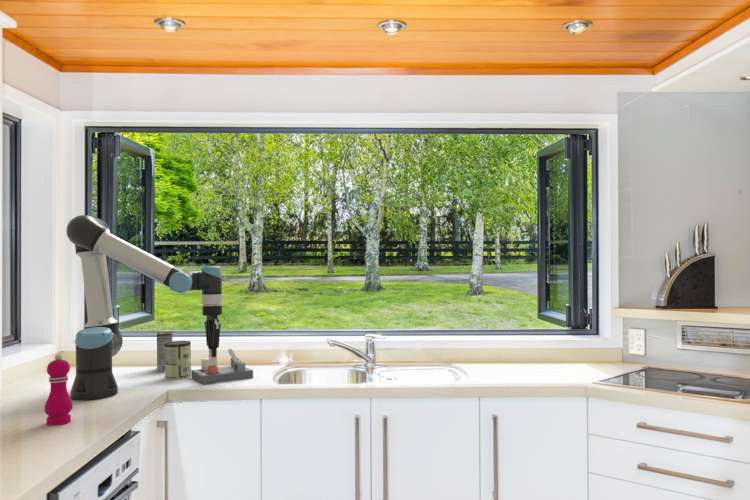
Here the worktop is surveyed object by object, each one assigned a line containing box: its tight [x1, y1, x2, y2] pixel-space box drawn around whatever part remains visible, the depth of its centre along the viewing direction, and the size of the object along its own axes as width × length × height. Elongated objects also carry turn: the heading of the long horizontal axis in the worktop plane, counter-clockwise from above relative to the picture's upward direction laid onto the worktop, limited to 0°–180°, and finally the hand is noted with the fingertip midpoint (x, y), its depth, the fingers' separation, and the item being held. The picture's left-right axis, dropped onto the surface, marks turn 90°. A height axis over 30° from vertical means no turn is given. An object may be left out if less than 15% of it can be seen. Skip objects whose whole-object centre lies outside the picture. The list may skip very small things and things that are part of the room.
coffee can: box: [164, 340, 192, 380], centre depth 236 cm, size 10×10×14 cm
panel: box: [190, 360, 254, 385], centre depth 233 cm, size 20×16×6 cm
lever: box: [226, 348, 240, 367], centre depth 232 cm, size 2×3×9 cm, turn 35°
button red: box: [208, 364, 219, 375], centre depth 227 cm, size 4×4×5 cm
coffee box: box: [156, 331, 174, 373], centre depth 253 cm, size 9×6×16 cm
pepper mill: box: [44, 353, 73, 426], centre depth 170 cm, size 7×7×20 cm
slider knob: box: [230, 357, 240, 366], centre depth 240 cm, size 2×3×3 cm
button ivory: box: [200, 357, 209, 372], centre depth 233 cm, size 4×4×5 cm
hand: (213, 365), depth 227 cm, fingers closed
